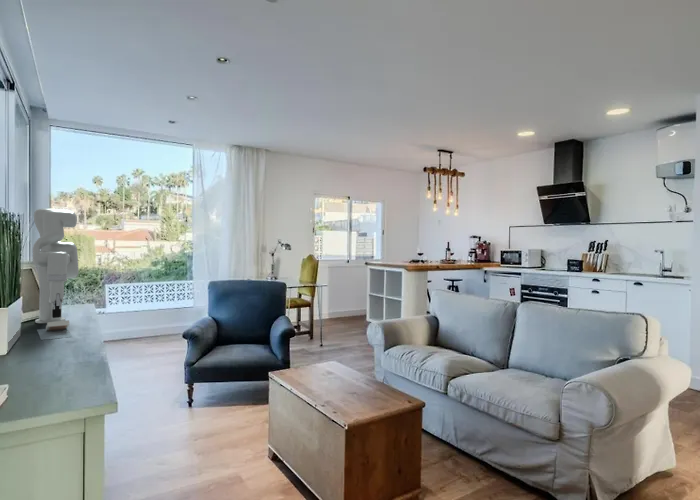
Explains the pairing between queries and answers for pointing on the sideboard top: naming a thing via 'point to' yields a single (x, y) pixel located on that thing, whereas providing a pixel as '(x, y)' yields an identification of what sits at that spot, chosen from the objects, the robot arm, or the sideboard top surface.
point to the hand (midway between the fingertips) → (56, 317)
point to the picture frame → (57, 325)
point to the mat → (53, 334)
